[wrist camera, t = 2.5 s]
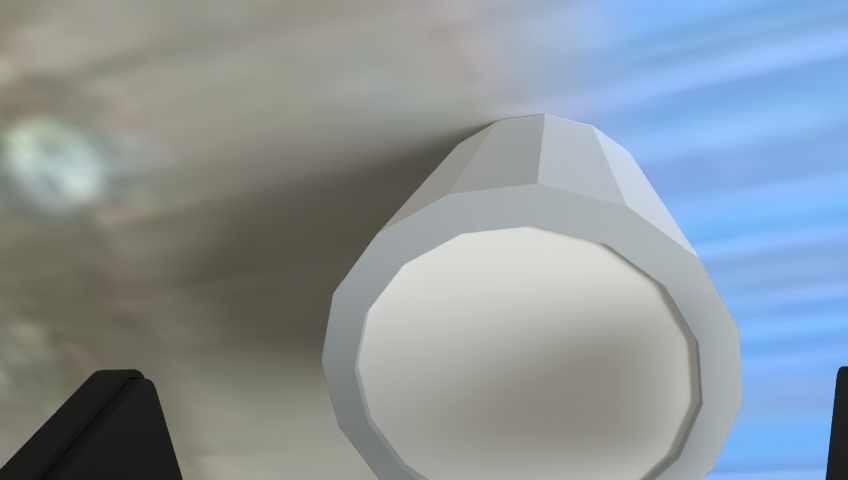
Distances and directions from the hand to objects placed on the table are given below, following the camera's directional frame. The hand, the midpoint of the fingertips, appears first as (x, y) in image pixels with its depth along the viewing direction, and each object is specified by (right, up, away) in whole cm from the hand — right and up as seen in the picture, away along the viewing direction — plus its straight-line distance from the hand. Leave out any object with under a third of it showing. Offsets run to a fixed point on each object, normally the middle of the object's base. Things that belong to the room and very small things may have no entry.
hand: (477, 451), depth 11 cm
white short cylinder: (+2, +3, +8) cm, 9 cm away
